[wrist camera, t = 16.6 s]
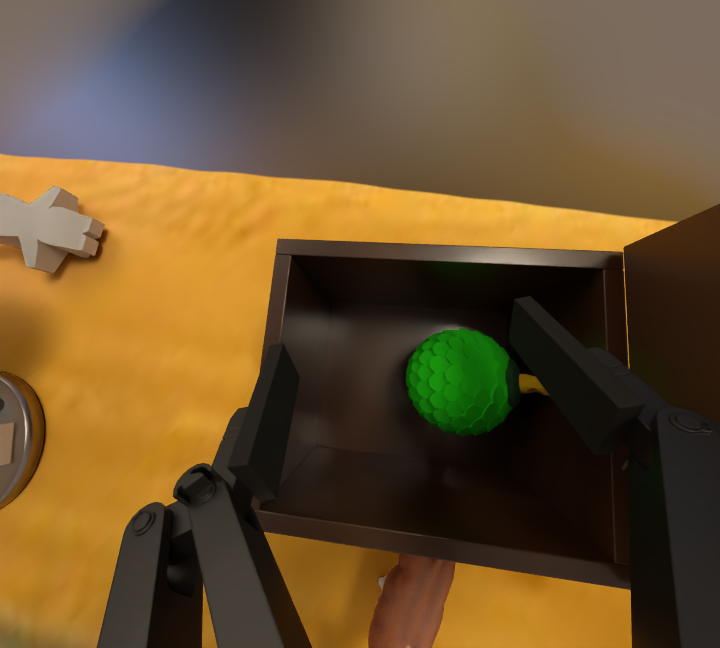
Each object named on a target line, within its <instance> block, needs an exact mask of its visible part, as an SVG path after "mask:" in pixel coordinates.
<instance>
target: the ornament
mask: <svg viewBox="0 0 720 648" xmlns="http://www.w3.org/2000/svg"><path fill="white" fill-rule="evenodd" d="M415 350H416V351H415V352H414V353H413V355H412V356H411V357H410V359H409V361H408V362H409V365H408V368H407V370H406V386H407V387H408V388H409V390H407V392H408V396H409V397H410V399H411V400H412V402H413V406H414V407H415V408H416V409H417V411H418V412H419V415H420V416H421V417H423V418H424V419H426V420H428V421H429V422H430V425H431V426H433V427H437V428H441V429H442V430H444V433H451V434H452V433H457V434H458V435H461V436H466V435H469V434H474V435H475V436H477V435H480V434H482V433H484V432H486V431H488V432H490V431H491V430H492V429H493V428H494V427H496V426H497V425H498V424H500V423H503V422H504V421H505V419H506V417H507V416H508V414H509V412H510V411H511V410H513V408H514V407H516V406H517V405H518V403H519V402H520V398H521V394H522V393H523V394H526V393H532V392H538V393H541V394H543V395H549V394H548V393H547V391H546V390H545V389H544V387H543V386H542V385H541V383H540V382H539V381H538V379H537V378H536V377H535V376H531V375H528V374H521V373H520V370H519V367H518V365H517V363H516V362H515V361H514V360H513V359H510V357H509V356H508V354H507V352H506V351H505V349H504V348H503V347H500V346H499V345H498V344H497V343H496V342H495V341H494V340H493V338H492V337H491V338H490V337H488V336H485V335H483V334H482V333H481V332H479V331H477V330H475V331H470V330H467V329H464V328H458V330H452V329H443V330H442V333H434V335H430V336H429V337H427V340H425V341H422V342H421V344H420V345H418V346H417V347H416V349H415ZM549 396H550V395H549Z"/></svg>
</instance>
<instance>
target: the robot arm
mask: <svg viewBox="0 0 720 648" xmlns="http://www.w3.org/2000/svg"><path fill="white" fill-rule="evenodd" d="M509 342H510V343H511V345H512V346H513V347H514V349H515V350H516V351H517V353H518V354H519V355H520V357H521V358H522V359H523V361H524V362H525V363H526V365H527V366H528V367H529V369H530V370H531V371H532V373H533V374H534V375H535V377H536V378H537V379H538V381H539V382H540V383H541V385H542V386H543V387H544V389H545V390H546V391H547V393H548V394H549V395H550V397H551V398H552V399H553V401H554V402H555V403H556V405H557V406H558V407H559V409H560V410H561V411H562V413H563V414H564V415H565V417H566V418H567V419H568V421H569V422H570V423H571V425H572V426H573V427H574V429H575V430H576V431H577V433H578V434H579V435H580V437H581V438H582V439H583V441H584V442H585V443H586V445H587V446H588V447H589V449H590V450H591V451H592V453H593V454H594V455H599V454H606V453H613V452H617V451H618V449H619V447H620V446H621V444H622V443H623V444H624V445H625V446H626V447H627V449H628V450H629V451H630V453H629V454H628V456H627V457H626V459H625V460H624V462H623V463H622V465H621V468H620V469H622V470H625V469H626V467H627V466H628V493H629V535H630V578H631V620H632V648H720V422H718V421H710V420H708V419H707V418H705V417H703V416H702V415H700V414H698V413H696V412H694V411H691V410H688V409H685V408H682V407H675V406H672V405H671V404H670V403H668V402H667V401H666V400H665V399H664V398H662V397H661V396H660V395H659V394H658V393H657V392H656V391H654V390H653V389H652V388H651V387H650V386H649V385H647V384H646V383H645V382H644V381H643V380H642V379H640V378H639V377H638V376H637V375H636V374H633V372H632V371H631V370H630V369H629V368H628V367H627V366H624V365H623V363H622V362H621V361H620V360H618V359H617V358H616V357H615V356H614V355H613V354H611V353H609V352H607V351H605V350H603V349H601V348H599V347H593V348H587V349H586V348H585V347H584V346H583V345H582V344H581V343H580V342H579V341H578V340H577V339H576V338H574V337H573V336H572V335H571V334H570V333H569V332H568V331H567V330H566V329H565V328H564V327H563V326H562V325H560V324H559V323H558V322H557V321H556V320H555V319H554V318H553V317H552V316H551V315H550V314H549V313H548V312H547V311H545V310H544V309H543V308H542V307H541V306H540V305H539V304H538V303H537V302H536V301H535V300H534V299H533V298H532V297H530V296H528V297H522V298H517V299H514V305H513V312H512V319H511V326H510V334H509ZM299 380H300V377H299V375H298V372H297V370H296V368H295V366H294V364H293V362H292V360H291V358H290V356H289V354H288V352H287V349H286V347H285V345H284V343H279V344H274V345H270V346H269V349H268V352H267V355H266V358H265V360H264V363H263V366H262V369H261V372H260V375H259V377H258V380H257V383H256V386H255V389H254V392H253V395H252V397H251V400H250V403H249V406H248V407H244V408H239V409H238V410H237V411H236V412H235V414H234V415H233V416H232V417H231V419H230V421H229V424H228V426H227V429H226V432H225V434H224V436H223V441H221V444H220V446H219V449H218V451H217V454H216V456H215V459H214V461H213V464H212V466H210V465H209V464H205V463H202V464H197V465H195V466H193V467H191V468H190V469H188V470H187V471H186V472H185V473H184V474H183V475H182V476H181V477H180V479H179V480H178V481H177V483H176V485H175V488H174V491H173V497H174V498H175V499H177V500H178V501H176V502H174V503H172V504H170V505H168V506H165V505H163V504H162V503H159V502H154V503H151V504H148V505H146V506H145V507H143V508H142V509H141V510H139V511H138V512H137V513H136V514H135V515H134V516H133V518H132V519H131V520H130V522H129V523H128V525H127V527H126V529H125V532H124V534H123V539H122V543H121V547H120V551H119V556H118V560H117V564H116V568H115V573H114V577H113V581H112V585H111V590H110V594H109V598H108V602H107V607H106V611H105V615H104V619H103V624H102V628H101V632H100V636H99V641H98V645H97V648H202V613H203V582H204V587H205V592H206V596H207V601H208V605H209V610H210V614H211V619H212V624H213V628H214V633H215V637H216V642H217V646H218V648H312V646H311V643H310V641H309V639H308V636H307V634H306V632H305V629H304V627H303V624H302V622H301V620H300V617H299V615H298V613H297V610H296V608H295V606H294V603H293V601H292V598H291V596H290V594H289V591H288V589H287V587H286V584H285V582H284V580H283V577H282V575H281V572H280V570H279V568H278V565H277V563H276V561H275V558H274V556H273V554H272V551H271V549H270V546H269V544H268V542H267V539H266V537H265V535H264V532H263V530H262V528H261V525H260V523H259V520H258V518H257V516H256V513H255V511H254V509H253V508H252V506H251V502H252V498H253V496H254V497H255V498H256V499H257V500H258V501H266V500H273V499H277V497H278V492H279V487H280V481H281V476H282V471H283V465H284V460H285V455H286V449H287V444H288V439H289V433H290V428H291V423H292V417H293V412H294V407H295V401H296V396H297V391H298V385H299ZM43 440H44V419H43V413H42V409H41V406H40V403H39V401H38V399H37V397H36V395H35V394H34V392H33V391H32V389H31V388H30V387H29V386H28V385H27V384H26V383H25V382H24V381H23V380H21V379H20V378H18V377H16V376H14V375H12V374H9V373H5V372H0V509H1V508H2V507H4V506H6V505H7V504H8V503H9V502H11V501H12V500H13V499H14V498H15V497H16V496H17V495H18V494H19V493H20V492H21V491H22V489H23V488H24V487H25V486H26V484H27V483H28V481H29V480H30V478H31V476H32V474H33V473H34V471H35V468H36V466H37V464H38V461H39V458H40V455H41V451H42V447H43Z"/></svg>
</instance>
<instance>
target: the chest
mask: <svg viewBox="0 0 720 648" xmlns="http://www.w3.org/2000/svg"><path fill="white" fill-rule="evenodd" d="M623 269H624V266H623V252H612V251H586V250H560V249H534V248H508V247H482V246H456V245H429V244H403V243H377V242H351V241H325V240H299V239H278V240H277V247H276V256H275V263H274V270H273V278H272V285H271V293H270V300H269V308H268V315H267V322H266V330H265V337H264V345H263V352H262V360H261V367H260V372H261V369H262V366H263V363H264V360H265V358H266V355H267V352H268V349H269V346H270V345H274V344H279V343H284V345H285V347H286V349H287V352H288V354H289V356H290V358H291V360H292V362H293V364H294V366H295V368H296V370H297V372H298V375H299V377H300V380H299V385H298V391H297V396H296V401H295V407H294V412H293V417H292V423H291V428H290V433H289V439H288V444H287V449H286V455H285V460H284V465H283V471H282V476H281V481H280V487H279V492H278V497H277V499H273V500H266V501H258V500H257V499H256V498H255V497H254V496H253V498H252V502H251V506H252V508H253V509H254V511H255V513H256V516H257V518H258V520H259V523H260V525H261V528H262V530H263V532H269V533H275V534H282V535H288V536H294V537H301V538H307V539H313V540H320V541H326V542H332V543H339V544H345V545H351V546H357V547H364V548H370V549H376V550H383V551H389V552H395V553H402V554H408V555H414V556H421V557H427V558H433V559H440V560H446V561H452V562H458V563H465V564H471V565H477V566H484V567H490V568H496V569H503V570H509V571H515V572H522V573H528V574H534V575H541V576H547V577H553V578H559V579H566V580H572V581H578V582H585V583H591V584H597V585H604V586H610V587H616V588H623V589H629V590H631V578H630V535H629V493H628V466H627V467H626V469H625V470H622V469H620V468H621V465H622V463H623V462H624V460H625V459H626V457H627V456H628V454H629V453H630V451H629V450H628V449H627V447H626V446H625V445H624V444H623V443H622V444H621V446H620V447H619V449H618V451H617V452H613V453H606V454H599V455H594V454H593V453H592V451H591V450H590V449H589V447H588V446H587V445H586V443H585V442H584V441H583V439H582V438H581V437H580V435H579V434H578V433H577V431H576V430H575V429H574V427H573V426H572V425H571V423H570V422H569V421H568V419H567V418H566V417H565V415H564V414H563V413H562V411H561V410H560V409H559V407H558V406H557V405H556V403H555V402H554V401H553V399H552V398H551V397H550V396H549V395H543V394H541V393H538V392H532V393H526V394H523V393H522V394H521V398H520V402H519V403H518V405H517V406H516V407H514V408H513V410H511V411H510V412H509V414H508V416H507V417H506V419H505V421H504V422H503V423H500V424H498V425H497V426H496V427H494V428H493V429H492V430H491V431H490V432H488V431H486V432H484V433H482V434H480V435H477V436H475V435H474V434H469V435H466V436H461V435H458V434H457V433H452V434H451V433H444V430H442V429H441V428H437V427H433V426H431V425H430V422H429V421H428V420H426V419H424V418H423V417H421V416H420V415H419V412H418V411H417V409H416V408H415V407H414V406H413V402H412V400H411V399H410V397H409V396H408V392H407V390H409V388H408V387H407V386H406V370H407V368H408V365H409V362H408V361H409V359H410V357H411V356H412V355H413V353H414V352H415V351H416V350H415V349H416V347H417V346H418V345H420V344H421V342H422V341H425V340H427V337H429V336H430V335H434V333H442V330H443V329H452V330H458V328H464V329H467V330H470V331H475V330H477V331H479V332H481V333H482V334H483V335H485V336H488V337H490V338H491V337H492V338H493V340H494V341H495V342H496V343H497V344H498V345H499V346H500V347H503V348H504V349H505V351H506V352H507V354H508V356H509V357H510V359H513V360H514V361H515V362H516V363H517V365H518V367H519V370H520V373H521V374H528V375H531V376H535V375H534V374H533V373H532V371H531V370H530V369H529V367H528V366H527V365H526V363H525V362H524V361H523V359H522V358H521V357H520V355H519V354H518V353H517V351H516V350H515V349H514V347H513V346H512V345H511V343H510V342H509V334H510V326H511V319H512V312H513V305H514V299H517V298H522V297H528V296H530V297H532V298H533V299H534V300H535V301H536V302H537V303H538V304H539V305H540V306H541V307H542V308H543V309H544V310H545V311H547V312H548V313H549V314H550V315H551V316H552V317H553V318H554V319H555V320H556V321H557V322H558V323H559V324H560V325H562V326H563V327H564V328H565V329H566V330H567V331H568V332H569V333H570V334H571V335H572V336H573V337H574V338H576V339H577V340H578V341H579V342H580V343H581V344H582V345H583V346H584V347H585V348H586V349H587V348H593V347H599V348H601V349H603V350H605V351H607V352H609V353H611V354H613V355H614V356H615V357H616V358H617V359H618V360H620V361H621V362H622V363H623V365H624V366H627V367H628V347H627V327H626V307H625V287H624V271H623ZM628 368H629V367H628Z"/></svg>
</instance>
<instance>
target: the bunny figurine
mask: <svg viewBox="0 0 720 648" xmlns="http://www.w3.org/2000/svg"><path fill="white" fill-rule="evenodd" d="M103 228H104V224H103V223H101V222H99V221H97V220H95V219H94V218H91V217H87V216H84V215H82V214H79V213H78V198H77V197H76V196H74V195H72V194H71V193H69V192H67V191H65V190H64V189H62V188H59V187H56V186H53V187H51V188H50V189H49V190H48V191H46V192H45V193H44V194H43V195H41V196H40V197H39V198H38V199H36V200H35V201H33V202H32V203H30V204H28V203H26V202H24V201H22V200H20V199H18V198H15V197H12V196H9V195H6V194H2V193H0V244H4V245H8V246H12V247H16V248H20V249H22V251H23V256H24V260H25V264H26V267H30V268H33V269H37V270H40V271H44V272H47V273H54V272H55V271H56V269H57V268H58V266H59V265H60V264H61V262H62V261H63V259H64V258H65V257H66V255H67V254H68V253H69V252H70V253H72V254H75V255H78V256H80V257H83V258H88V257H89V256H90V255H93V256H95V254H96V250H97V247H98V244H99V242H97V241H96V240H95V239H97V238H100V237H101V234H102V231H103Z"/></svg>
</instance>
